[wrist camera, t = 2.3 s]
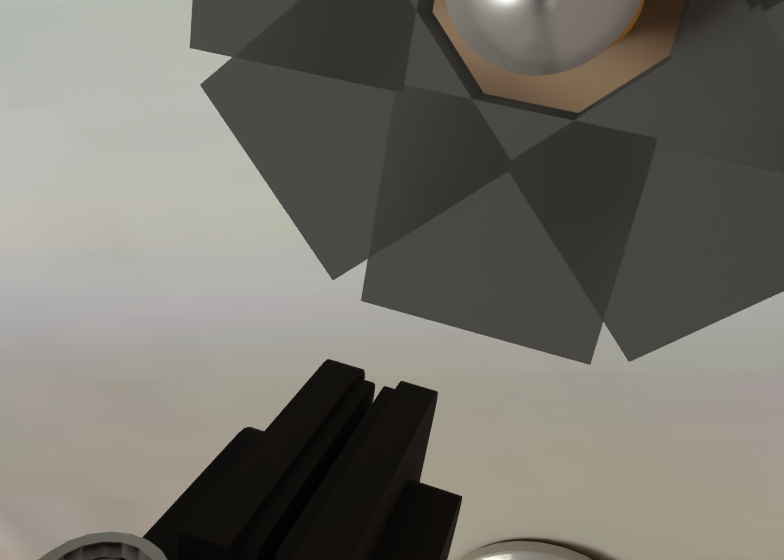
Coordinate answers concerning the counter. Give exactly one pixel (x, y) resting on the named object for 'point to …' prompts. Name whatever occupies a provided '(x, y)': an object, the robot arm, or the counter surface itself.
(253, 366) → the counter surface
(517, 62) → the steel pipe
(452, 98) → the grey petal ring
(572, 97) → the base board
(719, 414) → the counter surface
